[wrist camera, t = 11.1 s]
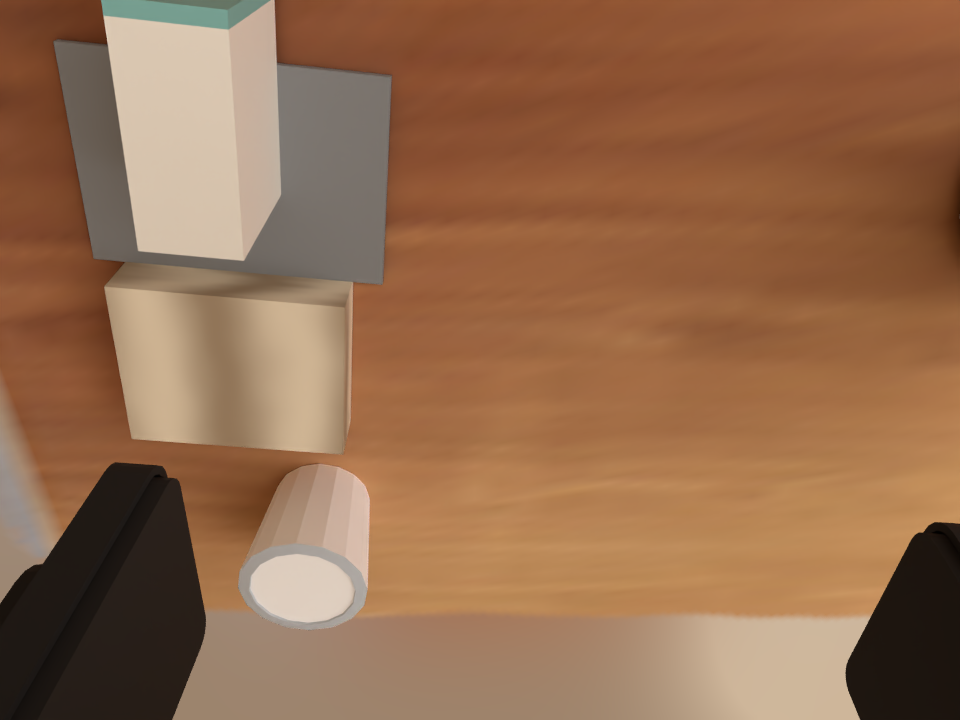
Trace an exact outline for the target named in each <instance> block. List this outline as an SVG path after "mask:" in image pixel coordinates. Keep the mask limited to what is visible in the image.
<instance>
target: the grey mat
mask: <svg viewBox="0 0 960 720" xmlns="http://www.w3.org/2000/svg"><path fill="white" fill-rule="evenodd" d="M53 42H54V48H55V53H56V59H57V64H58V69H59V75H60V80H61V85H62V91H63V96H64V102H65V107H66V112H67V118H68V123H69V128H70V134H71V139H72V145H73V150H74V155H75V161H76V166H77V171H78V177H79V182H80V188H81V193H82V198H83V204H84V209H85V214H86V220H87V225H88V231H89V236H90V241H91V247H92V252H93V257H94V259H100V260H111V261H122V262H134V263H145V264H156V265H167V266H179V267H190V268H201V269H212V270H224V271H235V272H246V273H257V274H269V275H280V276H291V277H302V278H314V279H325V280H336V281H347V282H359V283H370V284H381V285H382V284H383V274H384V250H385V226H386V202H387V178H388V154H389V130H390V105H391V81H392V75H387V74H377V73H368V72H359V71H349V70H340V69H331V68H321V67H312V66H303V65H293V64H284V63H277V88H278V117H279V147H280V176H281V196H280V198H279V200H278V201H277V203H276V205H275V207H274V208H273V210H272V212H271V214H270V215H269V217H268V219H267V221H266V223H265V224H264V226H263V228H262V230H261V231H260V233H259V235H258V237H257V238H256V240H255V242H254V244H253V246H252V247H251V249H250V251H249V253H248V254H247V256H246V258H245V260H244V261H240V260H229V259H218V258H207V257H197V256H186V255H175V254H164V253H153V252H142V251H138V247H137V240H136V233H135V226H134V219H133V213H132V206H131V199H130V192H129V185H128V179H127V172H126V165H125V158H124V151H123V145H122V138H121V131H120V124H119V118H118V111H117V104H116V97H115V90H114V84H113V77H112V70H111V63H110V56H109V50H108V45H107V44H97V43H88V42H79V41H69V40H60V39H57V40H55V41H53Z"/></svg>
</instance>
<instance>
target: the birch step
mask: <svg viewBox="0 0 960 720" xmlns="http://www.w3.org/2000/svg"><path fill="white" fill-rule="evenodd" d="M104 289H105V295H106V300H107V306H108V311H109V317H110V322H111V328H112V333H113V339H114V344H115V350H116V355H117V361H118V366H119V372H120V377H121V383H122V388H123V394H124V399H125V405H126V410H127V416H128V421H129V427H130V432H131V438H132V439H139V440H152V441H166V442H179V443H193V444H207V445H220V446H234V447H247V448H261V449H274V450H288V451H301V452H315V453H328V454H342V455H343V454H344V449H345V445H346V440H347V435H348V431H349V426H350V421H351V377H352V320H353V282H347V281H336V280H325V279H314V278H302V277H291V276H280V275H269V274H257V273H246V272H235V271H224V270H212V269H201V268H190V267H179V266H167V265H156V264H145V263H134V262H125V263H124V264H123V265H122V266H121V267H120V269H119V270H118V271H117V272H116V273H115V274H114V276H113V277H112V278H111V279H110V280H109V281H108V283H107V284H106V285H105V286H104Z"/></svg>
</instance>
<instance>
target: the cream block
mask: <svg viewBox="0 0 960 720" xmlns="http://www.w3.org/2000/svg"><path fill="white" fill-rule="evenodd" d="M101 2H102V9H103V16H104V22H105V29H106V36H107V43H108V50H109V56H110V63H111V70H112V77H113V84H114V90H115V97H116V104H117V111H118V118H119V124H120V131H121V138H122V145H123V151H124V158H125V165H126V172H127V179H128V185H129V192H130V199H131V206H132V213H133V219H134V226H135V233H136V240H137V247H138V251H142V252H153V253H164V254H175V255H186V256H197V257H207V258H218V259H229V260H240V261H244V260H245V258H246V256H247V254H248V253H249V251H250V249H251V247H252V246H253V244H254V242H255V240H256V238H257V237H258V235H259V233H260V231H261V230H262V228H263V226H264V224H265V223H266V221H267V219H268V217H269V215H270V214H271V212H272V210H273V208H274V207H275V205H276V203H277V201H278V200H279V198H280V196H281V176H280V147H279V117H278V88H277V59H276V30H275V1H274V0H101Z"/></svg>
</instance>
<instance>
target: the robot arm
mask: <svg viewBox="0 0 960 720" xmlns="http://www.w3.org/2000/svg"><path fill="white" fill-rule="evenodd" d="M959 217H960V216H959ZM205 627H206V616H205V610H204V605H203V600H202V595H201V590H200V584H199V579H198V574H197V569H196V564H195V559H194V553H193V548H192V543H191V538H190V533H189V528H188V522H187V517H186V512H185V507H184V502H183V497H182V491H181V486H180V483H179V481H178V480H177V479H175V478H168V477H167V474H166V471H165V469H164V468H163V467H162V466H157V465H144V464H130V463H116V462H115V463H113V464H111V465H110V466H109V467H108V468H107V469H106V471H105V472H104V474H103V475H102V477H101V478H100V480H99V481H98V483H97V484H96V486H95V487H94V489H93V490H92V491H91V493H90V494H89V496H88V497H87V499H86V500H85V502H84V503H83V505H82V506H81V508H80V509H79V511H78V512H77V514H76V515H75V517H74V518H73V520H72V521H71V523H70V524H69V526H68V527H67V529H66V530H65V532H64V533H63V535H62V536H61V538H60V539H59V541H58V542H57V544H56V545H55V547H54V548H53V550H52V551H51V553H50V554H49V556H48V557H47V559H46V560H45V562H44V563H43V564H39V565H34V566H32V567H31V568H29V569H27V570H26V571H25V572H24V573H23V574H22V575H21V576H20V577H19V579H18V580H17V581H16V582H15V583H14V585H13V586H12V588H11V589H10V590H9V592H8V593H7V595H6V596H5V598H4V599H3V601H2V602H1V603H0V720H172V718H173V716H174V714H175V711H176V709H177V706H178V703H179V701H180V698H181V696H182V693H183V691H184V688H185V686H186V683H187V681H188V678H189V676H190V673H191V671H192V668H193V666H194V663H195V661H196V658H197V656H198V653H199V651H200V648H201V645H202V642H203V638H204V634H205ZM846 683H847V687H848V691H849V694H850V696H851V698H852V701H853V703H854V705H855V708H856V711H857V713H858V715H859V718H860V720H960V524H956V523H942V522H934V523H932V524H931V525H929V526H928V527H927V528H926V530H925V531H924V533H918V534H916V535H915V536H914V537H913V538H912V540H911V542H910V543H909V545H908V547H907V549H906V551H905V553H904V555H903V557H902V559H901V561H900V563H899V564H898V566H897V568H896V570H895V572H894V574H893V576H892V578H891V580H890V582H889V584H888V585H887V587H886V589H885V591H884V593H883V595H882V597H881V599H880V601H879V603H878V604H877V606H876V608H875V610H874V612H873V614H872V616H871V618H870V620H869V622H868V624H867V626H866V627H865V630H864V631H863V633H862V635H861V637H860V639H859V641H858V643H857V645H856V646H855V648H854V651H853V652H852V654H851V656H850V658H849V660H848V663H847V666H846Z"/></svg>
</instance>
